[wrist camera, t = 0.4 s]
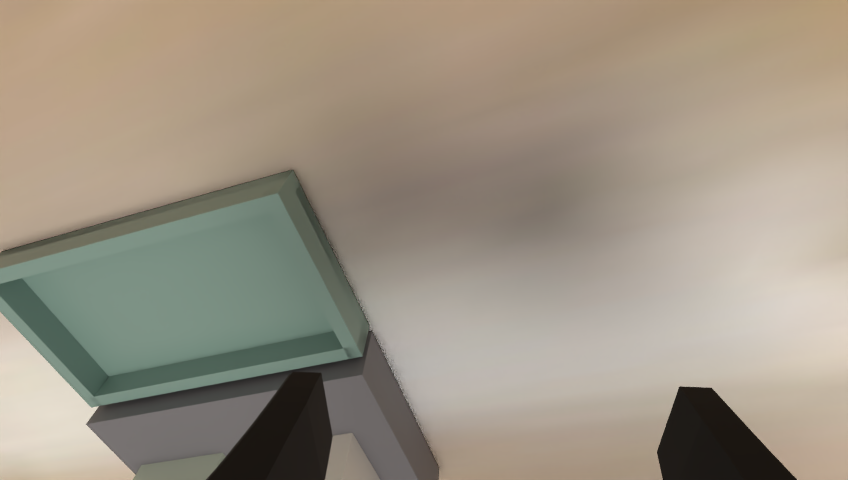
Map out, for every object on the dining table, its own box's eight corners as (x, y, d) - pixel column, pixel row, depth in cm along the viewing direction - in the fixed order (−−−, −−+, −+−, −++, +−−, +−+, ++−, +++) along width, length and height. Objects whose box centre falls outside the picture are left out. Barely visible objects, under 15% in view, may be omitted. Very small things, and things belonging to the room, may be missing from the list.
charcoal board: (439, 468, 28) (436, 514, 26) (218, 497, 31) (200, 541, 29) (371, 331, 23) (362, 374, 21) (117, 381, 26) (85, 424, 24)
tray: (369, 326, 23) (362, 356, 21) (113, 377, 26) (91, 407, 24) (292, 169, 19) (277, 193, 17) (2, 251, 22) (-32, 277, 20)
